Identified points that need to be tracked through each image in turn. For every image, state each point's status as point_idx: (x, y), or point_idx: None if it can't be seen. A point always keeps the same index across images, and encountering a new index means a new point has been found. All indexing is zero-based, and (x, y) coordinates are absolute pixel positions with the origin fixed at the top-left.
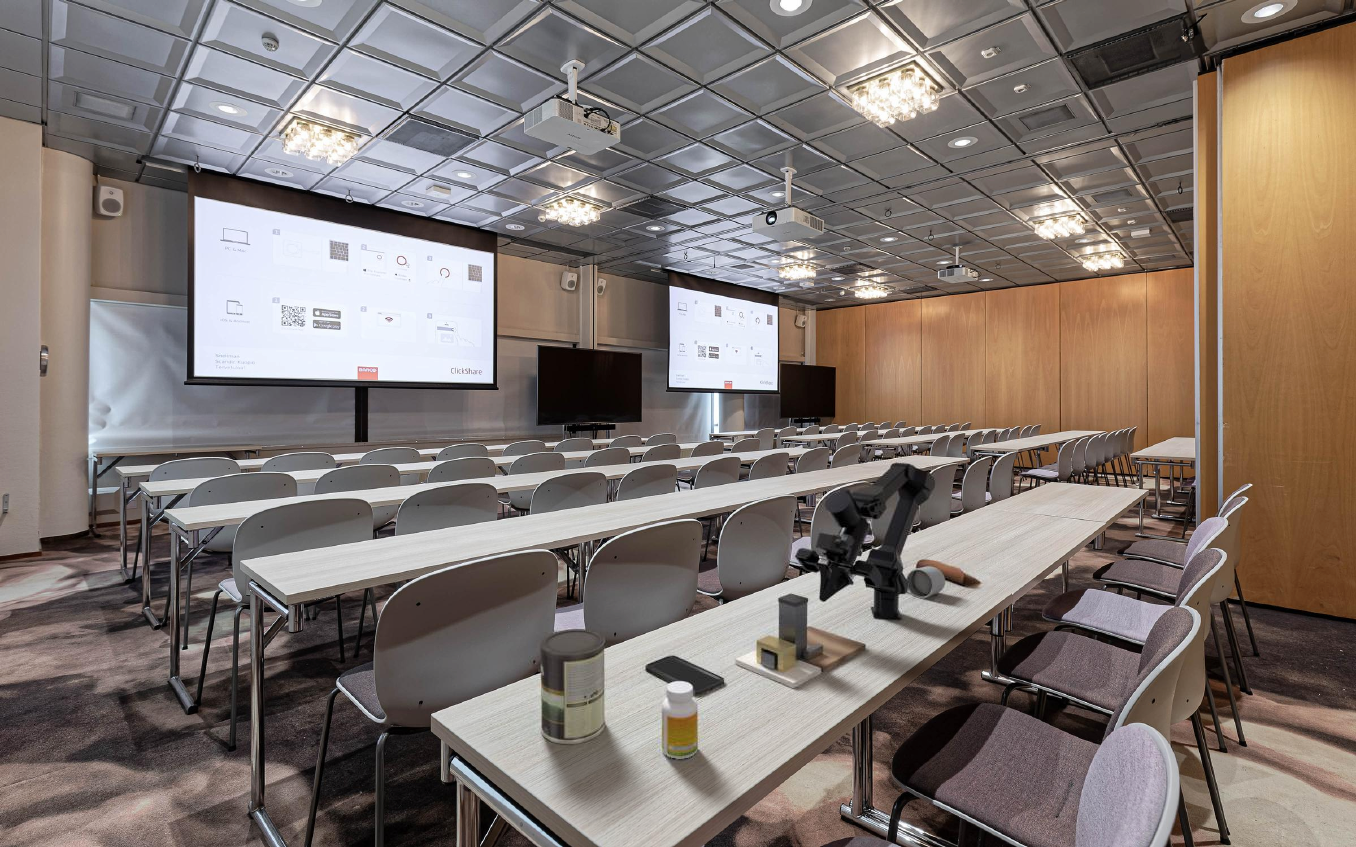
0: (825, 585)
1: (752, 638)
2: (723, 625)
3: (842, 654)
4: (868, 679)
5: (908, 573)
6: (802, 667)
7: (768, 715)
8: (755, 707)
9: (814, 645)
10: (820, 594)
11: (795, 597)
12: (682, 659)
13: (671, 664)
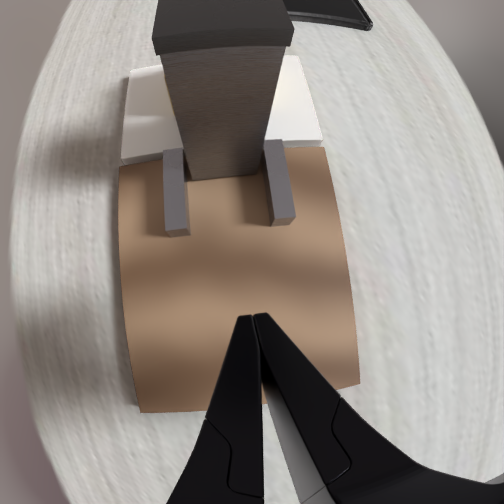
0: (287, 416)
1: (398, 190)
2: (476, 200)
3: (129, 284)
4: (37, 237)
5: None
6: (157, 125)
7: (121, 19)
8: (148, 15)
9: (183, 203)
10: (272, 329)
11: (218, 7)
12: (350, 22)
13: (342, 9)
